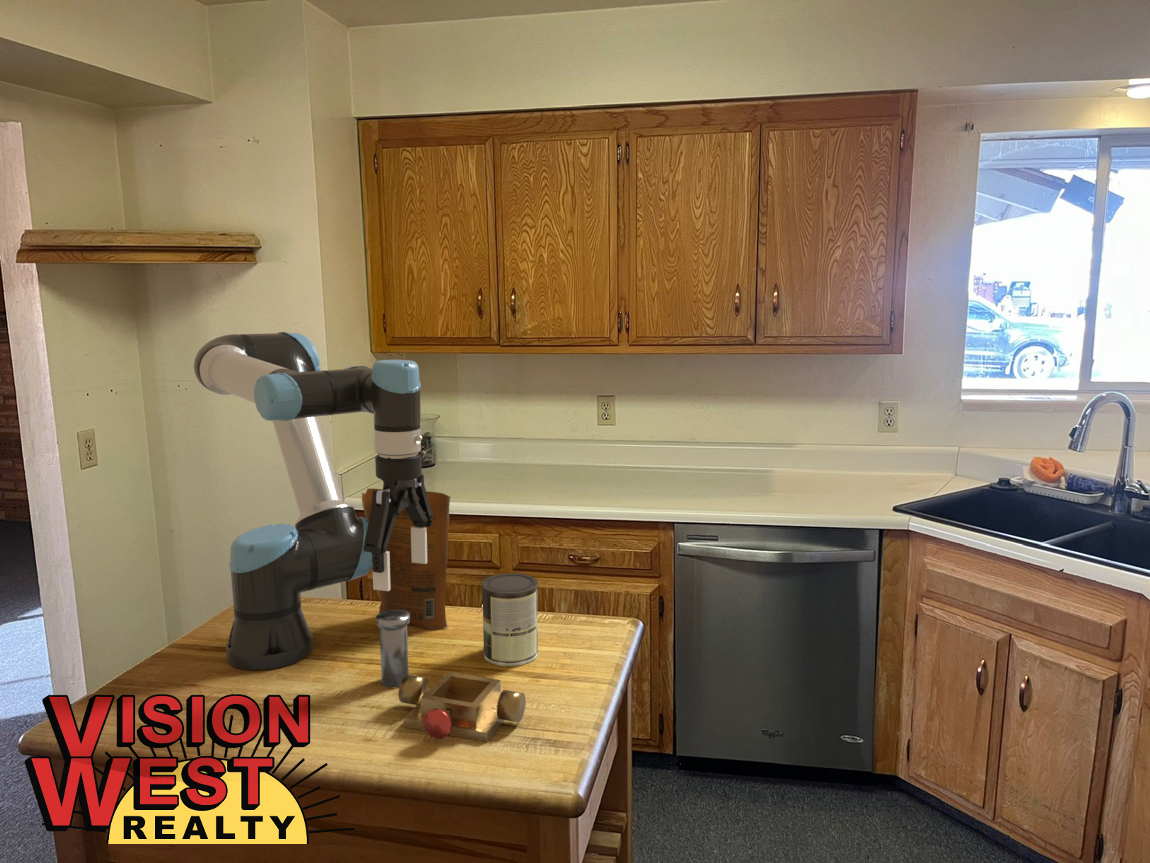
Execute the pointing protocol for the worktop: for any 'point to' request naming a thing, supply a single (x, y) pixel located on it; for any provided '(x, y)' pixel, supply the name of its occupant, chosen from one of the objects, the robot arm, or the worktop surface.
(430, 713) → the valve body
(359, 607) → the worktop surface
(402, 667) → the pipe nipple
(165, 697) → the worktop surface
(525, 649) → the coffee can
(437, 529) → the pancake mix bag
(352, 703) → the worktop surface
